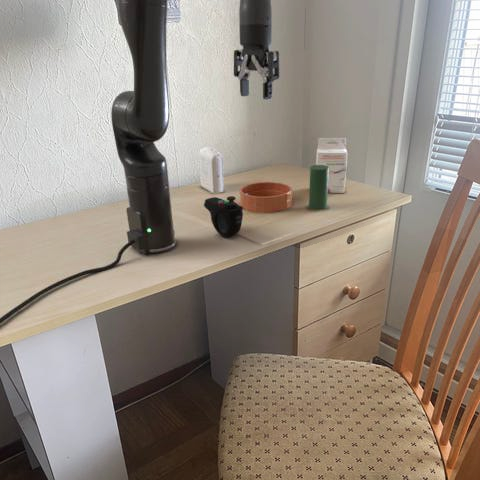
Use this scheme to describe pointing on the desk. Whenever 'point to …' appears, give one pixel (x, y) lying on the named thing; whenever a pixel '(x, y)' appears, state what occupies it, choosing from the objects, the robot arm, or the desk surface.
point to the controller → (225, 215)
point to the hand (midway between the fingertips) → (255, 97)
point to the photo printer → (211, 170)
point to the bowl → (265, 197)
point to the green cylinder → (318, 187)
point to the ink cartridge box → (333, 162)
